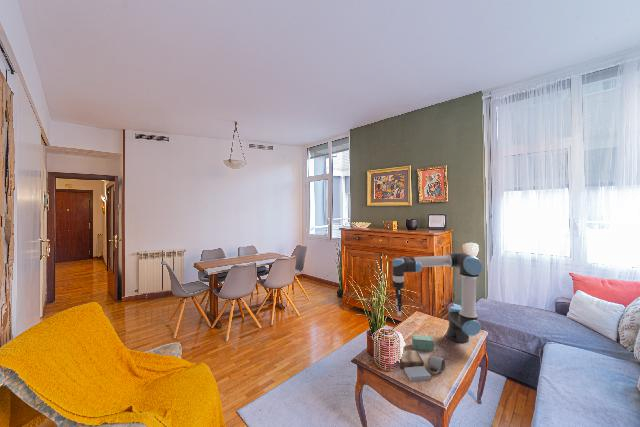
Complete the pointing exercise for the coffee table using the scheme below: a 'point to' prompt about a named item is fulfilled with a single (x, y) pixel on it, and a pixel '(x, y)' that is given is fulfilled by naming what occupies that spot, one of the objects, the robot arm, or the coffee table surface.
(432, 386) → the coffee table surface
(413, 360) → the walnut riser
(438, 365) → the ceramic mug
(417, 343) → the box
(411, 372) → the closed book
